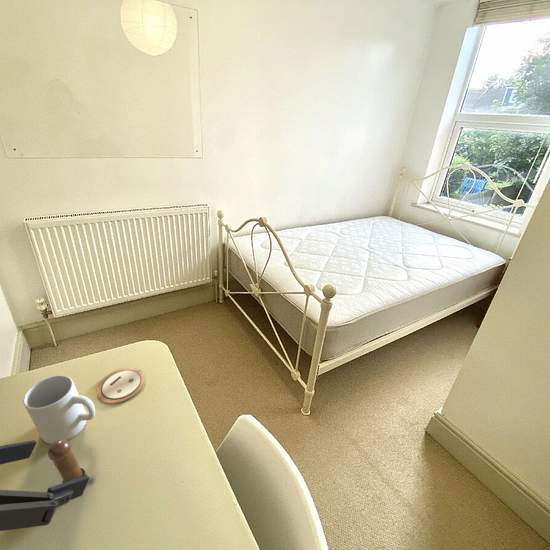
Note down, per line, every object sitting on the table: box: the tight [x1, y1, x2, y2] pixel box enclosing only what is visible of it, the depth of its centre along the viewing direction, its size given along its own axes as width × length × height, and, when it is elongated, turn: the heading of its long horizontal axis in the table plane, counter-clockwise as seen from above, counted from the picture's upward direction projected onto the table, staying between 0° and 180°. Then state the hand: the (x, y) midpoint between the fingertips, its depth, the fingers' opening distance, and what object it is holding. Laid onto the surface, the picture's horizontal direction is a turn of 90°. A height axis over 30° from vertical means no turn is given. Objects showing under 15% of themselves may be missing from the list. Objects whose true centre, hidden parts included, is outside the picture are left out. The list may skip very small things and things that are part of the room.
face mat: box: [96, 367, 147, 405], centre depth 77 cm, size 11×11×1 cm
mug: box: [22, 374, 97, 445], centre depth 64 cm, size 12×8×11 cm
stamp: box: [47, 440, 88, 484], centre depth 54 cm, size 4×4×12 cm
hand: (57, 466), depth 52 cm, fingers open, 13 cm apart
